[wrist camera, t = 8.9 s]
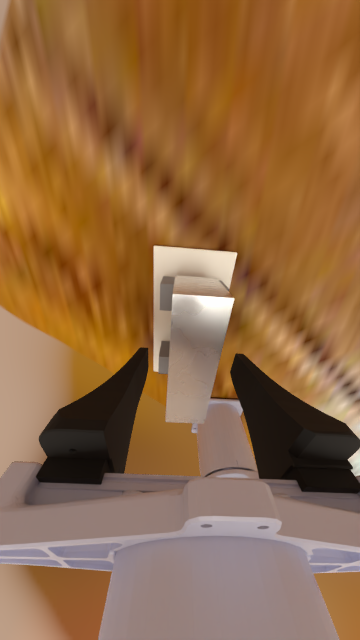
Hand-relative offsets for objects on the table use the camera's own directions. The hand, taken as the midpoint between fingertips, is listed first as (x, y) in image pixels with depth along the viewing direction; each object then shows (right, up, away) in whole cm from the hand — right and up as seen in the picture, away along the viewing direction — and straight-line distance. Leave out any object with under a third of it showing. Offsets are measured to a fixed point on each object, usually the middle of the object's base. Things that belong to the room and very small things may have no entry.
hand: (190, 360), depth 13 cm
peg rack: (0, +3, +7) cm, 7 cm away
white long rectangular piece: (0, +2, +3) cm, 3 cm away
